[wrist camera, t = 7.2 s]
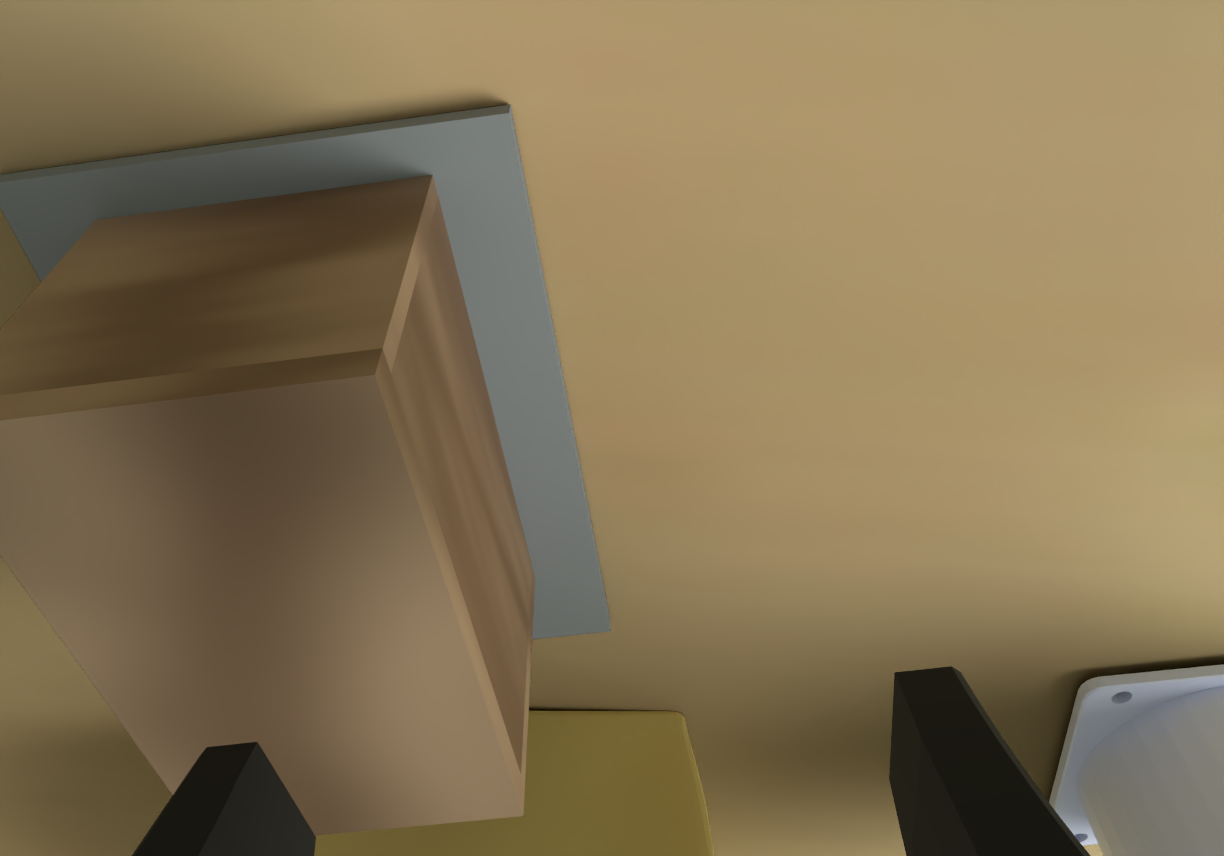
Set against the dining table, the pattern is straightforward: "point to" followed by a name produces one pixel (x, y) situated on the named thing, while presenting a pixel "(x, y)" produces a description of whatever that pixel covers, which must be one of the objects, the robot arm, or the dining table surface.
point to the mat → (486, 264)
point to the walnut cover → (278, 500)
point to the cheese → (576, 796)
